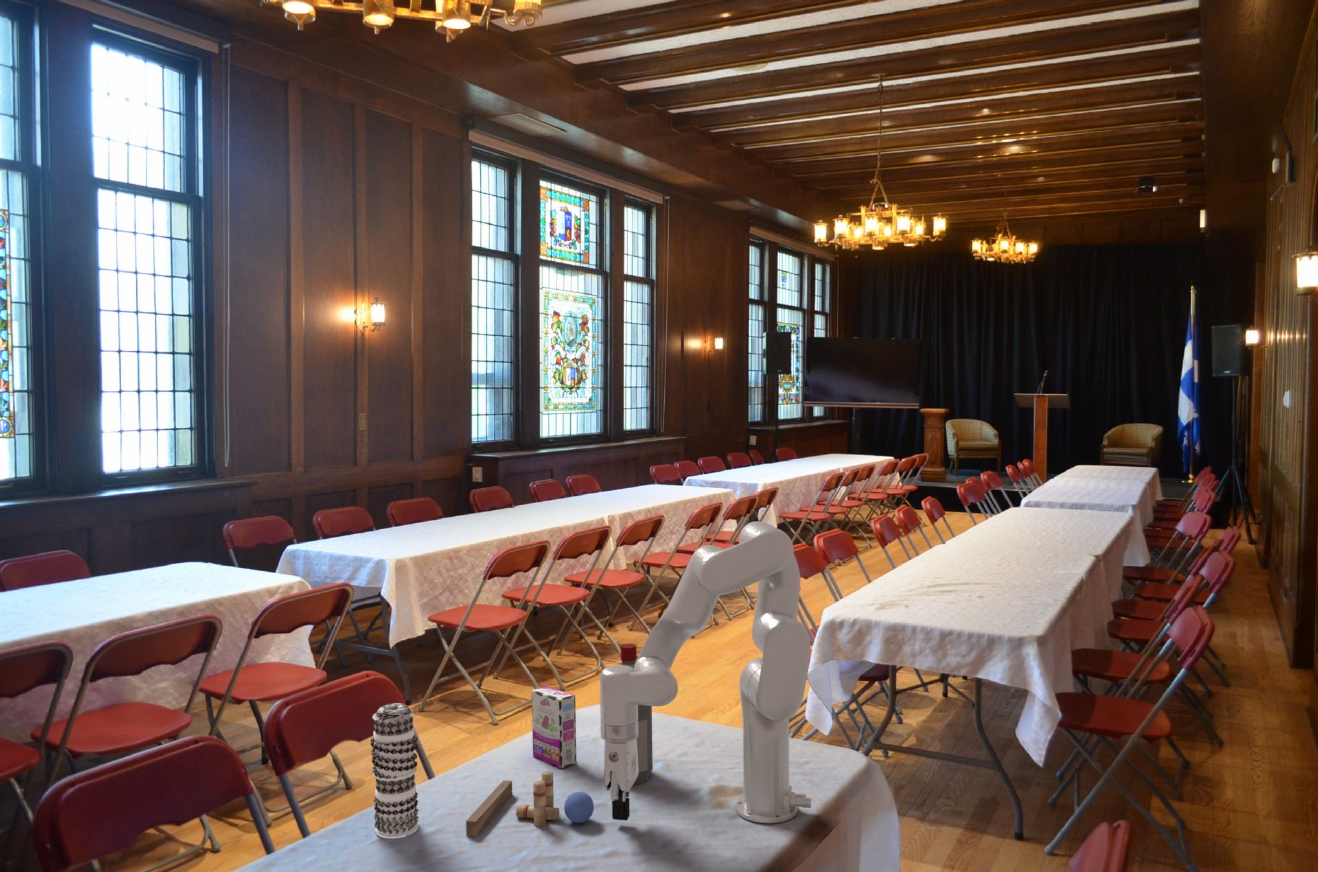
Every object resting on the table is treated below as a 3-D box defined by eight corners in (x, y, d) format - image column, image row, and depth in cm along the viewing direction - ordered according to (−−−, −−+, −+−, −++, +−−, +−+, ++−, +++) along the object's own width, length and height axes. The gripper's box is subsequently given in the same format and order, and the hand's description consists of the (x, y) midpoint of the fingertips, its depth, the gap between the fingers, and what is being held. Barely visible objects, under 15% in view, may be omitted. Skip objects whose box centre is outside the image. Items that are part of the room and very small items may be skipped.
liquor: (646, 785, 216) (643, 652, 214) (605, 783, 217) (603, 650, 216) (654, 769, 225) (652, 641, 223) (615, 767, 226) (613, 639, 225)
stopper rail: (512, 794, 212) (512, 780, 212) (475, 836, 193) (475, 821, 193) (503, 793, 213) (503, 779, 213) (466, 835, 193) (466, 820, 193)
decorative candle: (373, 842, 191) (369, 717, 189) (373, 822, 200) (369, 702, 198) (421, 836, 193) (417, 712, 192) (419, 816, 202) (415, 697, 201)
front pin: (559, 805, 200) (519, 802, 202) (555, 811, 198) (515, 808, 200) (559, 816, 201) (520, 813, 203) (556, 822, 198) (516, 819, 200)
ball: (564, 793, 202) (577, 819, 202) (555, 805, 196) (568, 832, 196) (588, 782, 201) (602, 808, 201) (580, 794, 195) (594, 821, 195)
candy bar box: (578, 763, 229) (576, 694, 228) (561, 769, 225) (559, 699, 224) (548, 751, 237) (547, 684, 236) (531, 756, 233) (530, 689, 232)
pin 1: (547, 821, 199) (546, 780, 198) (543, 827, 196) (542, 785, 196) (536, 820, 199) (535, 779, 199) (532, 826, 197) (531, 784, 196)
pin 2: (555, 811, 204) (554, 771, 203) (551, 816, 201) (551, 775, 201) (544, 810, 204) (543, 770, 204) (540, 815, 202) (539, 774, 201)
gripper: (628, 743, 188) (630, 836, 189) (646, 717, 202) (647, 803, 203) (590, 741, 189) (592, 833, 190) (611, 715, 204) (612, 800, 205)
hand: (620, 817), depth 197 cm, fingers closed
